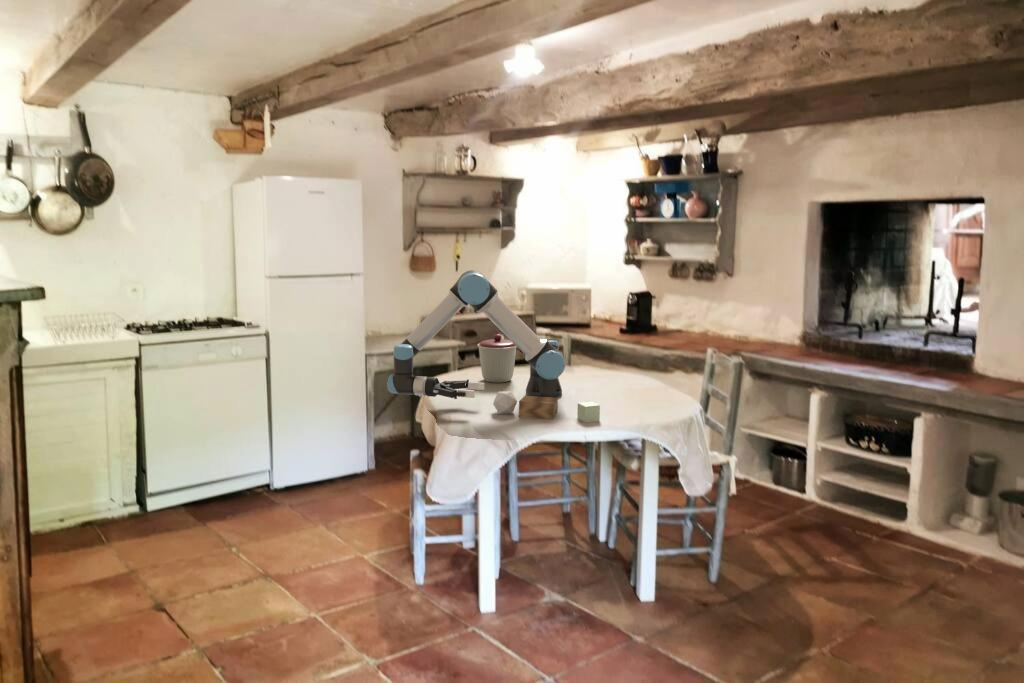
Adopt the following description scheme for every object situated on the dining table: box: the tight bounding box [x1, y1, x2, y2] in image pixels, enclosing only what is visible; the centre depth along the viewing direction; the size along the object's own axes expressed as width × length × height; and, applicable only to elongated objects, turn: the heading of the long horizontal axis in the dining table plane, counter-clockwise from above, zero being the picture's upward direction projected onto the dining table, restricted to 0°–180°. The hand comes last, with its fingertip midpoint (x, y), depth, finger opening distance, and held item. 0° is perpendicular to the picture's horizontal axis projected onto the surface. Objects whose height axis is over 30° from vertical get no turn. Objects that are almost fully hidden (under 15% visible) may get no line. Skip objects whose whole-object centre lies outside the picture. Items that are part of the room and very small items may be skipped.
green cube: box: [576, 401, 601, 423], centre depth 293 cm, size 6×6×6 cm
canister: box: [477, 334, 518, 384], centre depth 356 cm, size 18×18×21 cm
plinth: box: [518, 395, 559, 420], centre depth 299 cm, size 13×9×6 cm
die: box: [492, 390, 518, 415], centre depth 302 cm, size 8×9×10 cm
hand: (479, 390), depth 304 cm, fingers open, 13 cm apart
